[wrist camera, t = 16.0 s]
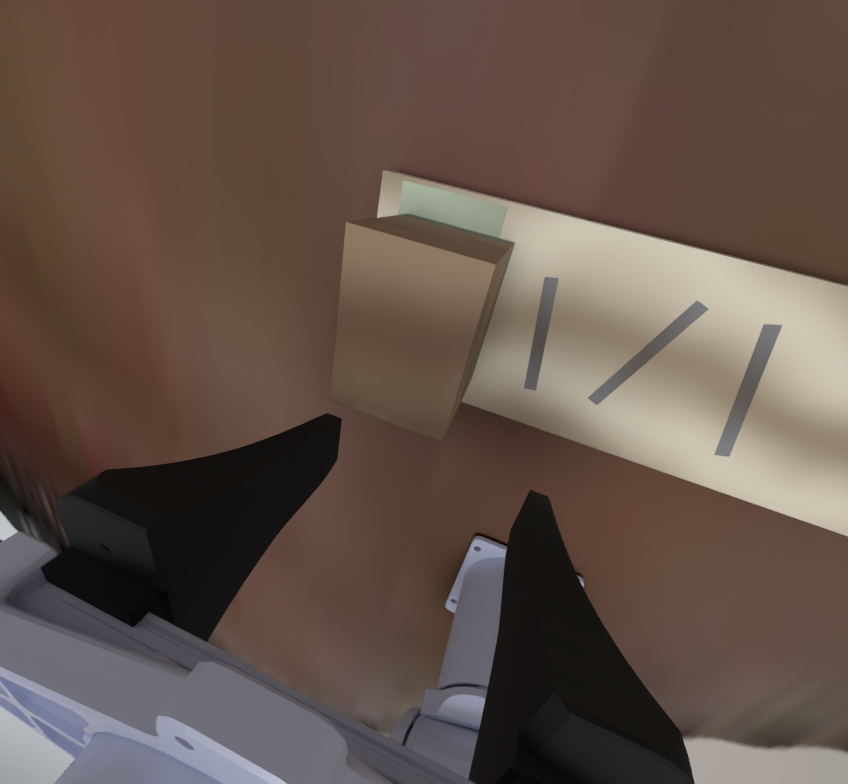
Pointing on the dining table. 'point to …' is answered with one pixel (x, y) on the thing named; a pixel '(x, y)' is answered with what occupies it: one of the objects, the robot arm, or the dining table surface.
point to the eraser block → (413, 318)
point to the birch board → (660, 351)
